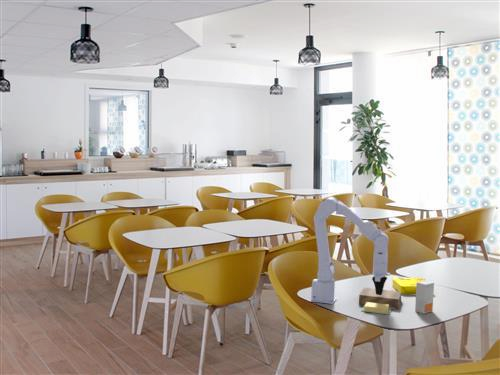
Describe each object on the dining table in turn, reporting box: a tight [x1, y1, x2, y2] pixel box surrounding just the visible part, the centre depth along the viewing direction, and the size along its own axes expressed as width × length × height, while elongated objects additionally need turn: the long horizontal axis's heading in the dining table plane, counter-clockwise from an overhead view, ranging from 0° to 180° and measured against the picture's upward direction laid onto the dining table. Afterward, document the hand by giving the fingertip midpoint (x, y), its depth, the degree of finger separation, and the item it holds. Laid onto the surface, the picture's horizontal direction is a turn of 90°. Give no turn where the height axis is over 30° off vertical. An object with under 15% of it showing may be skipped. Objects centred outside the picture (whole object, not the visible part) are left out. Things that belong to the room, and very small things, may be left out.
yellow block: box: [363, 302, 389, 315], centre depth 222 cm, size 9×6×2 cm, turn 69°
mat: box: [360, 305, 393, 315], centre depth 224 cm, size 11×9×1 cm
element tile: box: [392, 276, 427, 296], centre depth 254 cm, size 15×15×5 cm
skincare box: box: [414, 280, 435, 314], centre depth 222 cm, size 6×4×12 cm
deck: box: [358, 287, 402, 310], centre depth 234 cm, size 16×12×4 cm
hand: (379, 294), depth 228 cm, fingers closed
